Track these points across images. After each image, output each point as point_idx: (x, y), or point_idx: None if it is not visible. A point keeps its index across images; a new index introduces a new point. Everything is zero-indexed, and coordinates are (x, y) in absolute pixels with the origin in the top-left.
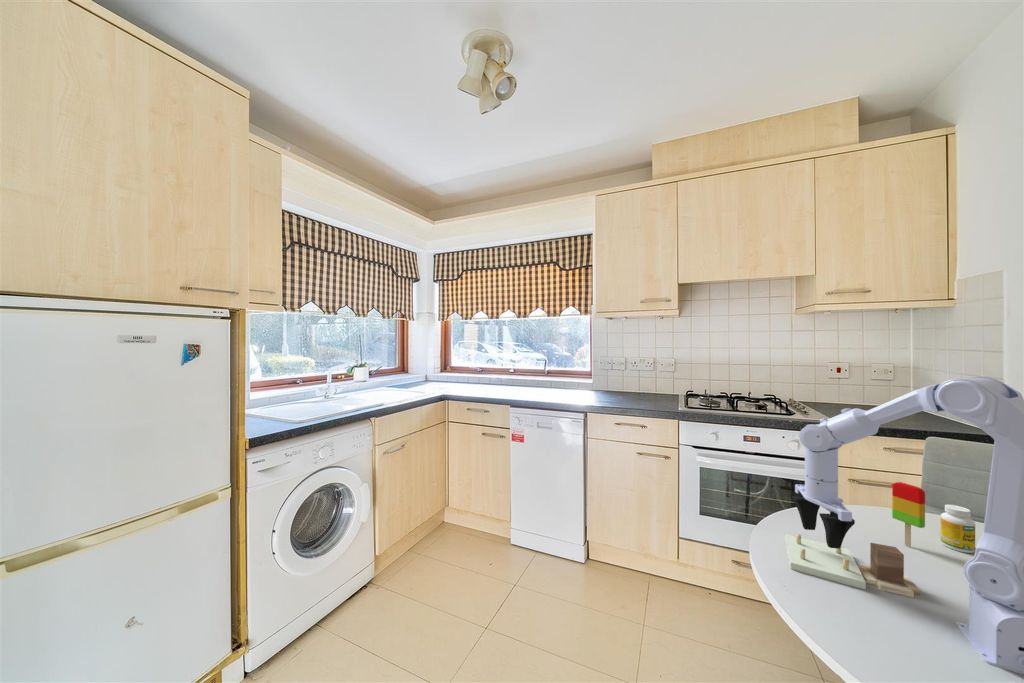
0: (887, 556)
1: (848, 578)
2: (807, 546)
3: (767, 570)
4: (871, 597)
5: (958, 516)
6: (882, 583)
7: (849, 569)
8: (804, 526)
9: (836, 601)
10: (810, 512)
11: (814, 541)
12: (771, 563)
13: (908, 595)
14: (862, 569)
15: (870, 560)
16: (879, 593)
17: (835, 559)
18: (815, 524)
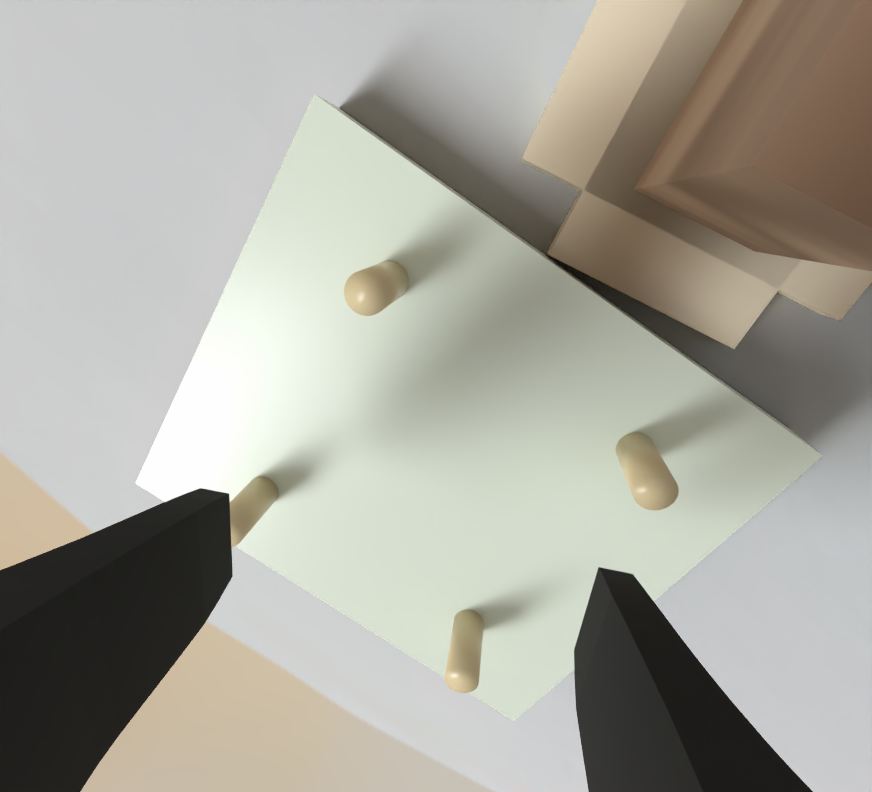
0: None
1: (733, 523)
2: (305, 462)
3: (514, 781)
4: (868, 467)
5: None
6: (819, 270)
7: (639, 420)
8: (212, 608)
9: (830, 692)
10: (43, 716)
11: (214, 336)
12: (451, 723)
13: None
14: (607, 252)
15: (660, 185)
16: (851, 366)
17: (493, 405)
18: (186, 527)
